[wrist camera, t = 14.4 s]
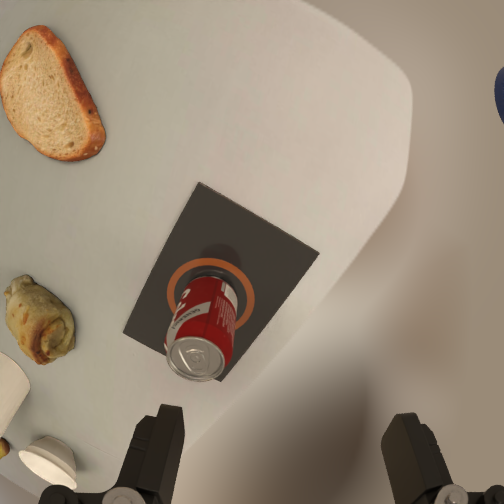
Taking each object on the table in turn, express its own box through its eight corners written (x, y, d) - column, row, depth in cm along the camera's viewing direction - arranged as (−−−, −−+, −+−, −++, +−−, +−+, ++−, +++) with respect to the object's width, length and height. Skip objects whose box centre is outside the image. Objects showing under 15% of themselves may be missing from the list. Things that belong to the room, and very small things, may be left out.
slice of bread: (103, 164, 34) (89, 168, 31) (0, 156, 33) (-17, 160, 30) (128, 17, 28) (116, 8, 24) (17, 32, 27) (1, 28, 23)
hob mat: (199, 181, 35) (198, 182, 35) (319, 252, 38) (319, 253, 38) (123, 331, 43) (122, 333, 42) (221, 380, 46) (220, 382, 45)
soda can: (234, 271, 38) (226, 330, 27) (240, 319, 41) (235, 385, 30) (179, 275, 39) (152, 332, 28) (188, 321, 41) (169, 386, 30)
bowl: (99, 465, 59) (89, 491, 51) (62, 464, 62) (52, 487, 54) (54, 425, 54) (40, 452, 46) (21, 427, 56) (8, 450, 48)
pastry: (92, 349, 44) (71, 383, 37) (37, 349, 45) (15, 377, 38) (57, 267, 39) (27, 294, 32) (4, 276, 40) (-26, 300, 33)
